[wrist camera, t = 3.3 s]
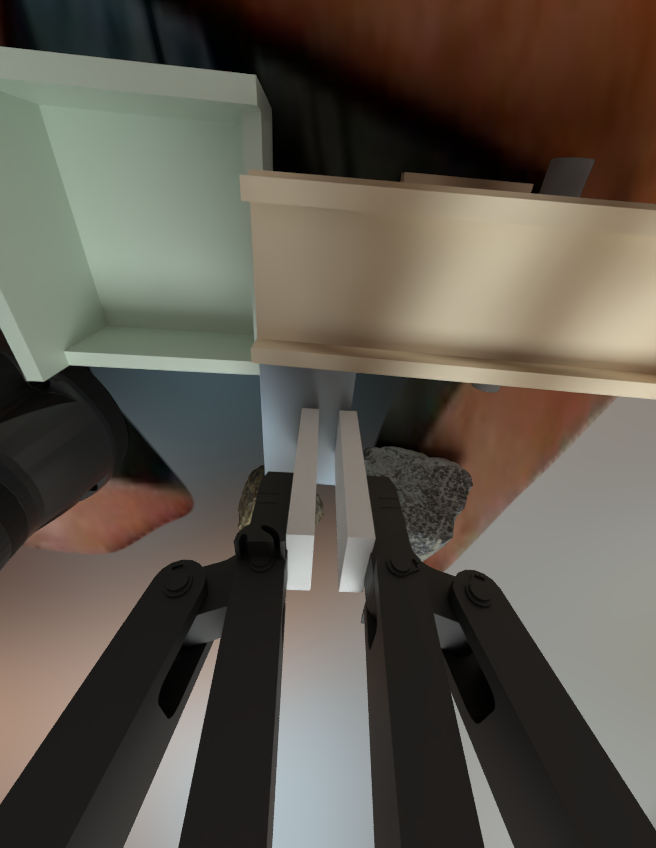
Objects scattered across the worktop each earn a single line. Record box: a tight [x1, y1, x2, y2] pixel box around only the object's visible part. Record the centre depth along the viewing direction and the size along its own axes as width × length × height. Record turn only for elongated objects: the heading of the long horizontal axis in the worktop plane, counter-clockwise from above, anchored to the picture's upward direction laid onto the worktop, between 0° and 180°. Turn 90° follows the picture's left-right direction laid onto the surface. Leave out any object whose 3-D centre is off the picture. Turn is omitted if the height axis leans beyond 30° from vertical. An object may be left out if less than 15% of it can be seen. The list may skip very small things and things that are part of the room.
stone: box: [363, 446, 473, 561], centre depth 27 cm, size 10×10×10 cm
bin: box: [0, 46, 273, 382], centre depth 16 cm, size 12×12×7 cm
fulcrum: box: [400, 172, 534, 193], centre depth 17 cm, size 14×8×8 cm, turn 86°
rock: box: [238, 465, 324, 530], centre depth 29 cm, size 7×8×4 cm
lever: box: [239, 157, 656, 485], centre depth 13 cm, size 20×14×4 cm
